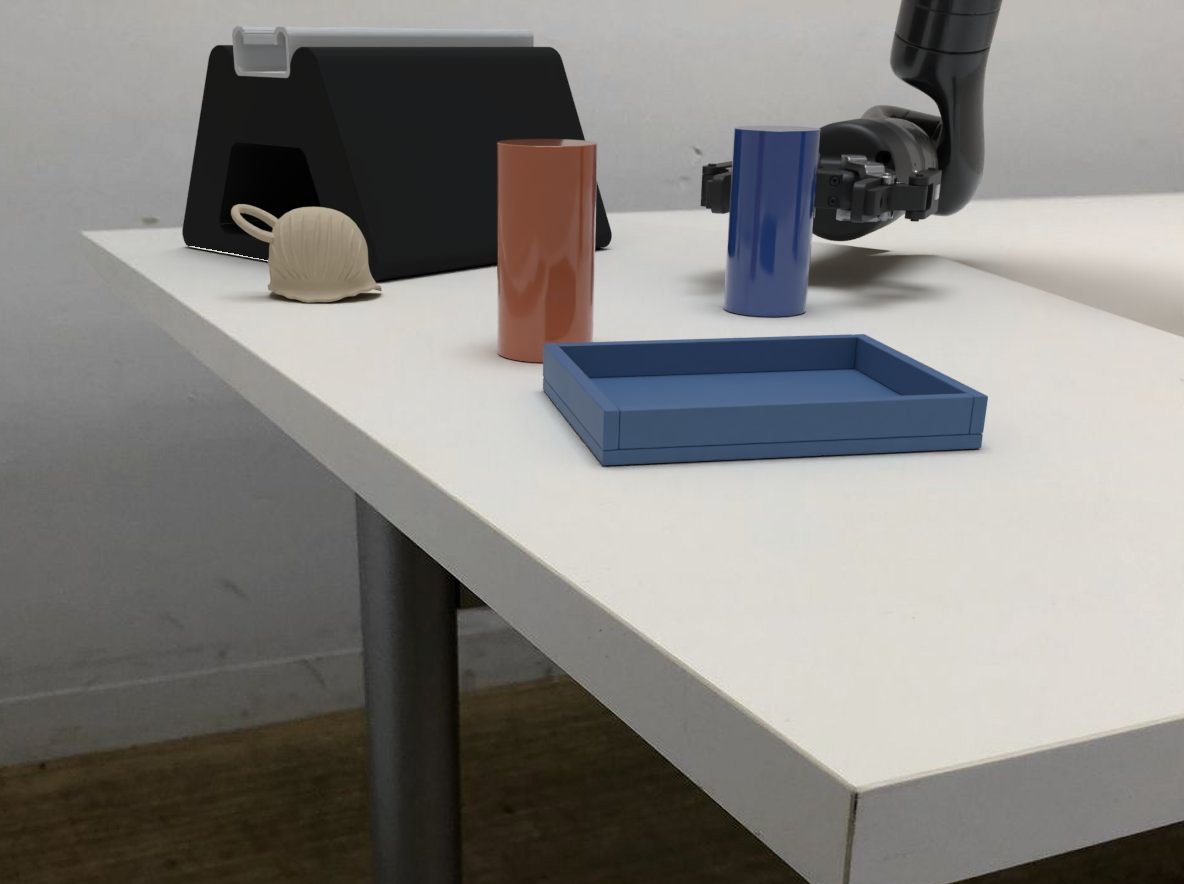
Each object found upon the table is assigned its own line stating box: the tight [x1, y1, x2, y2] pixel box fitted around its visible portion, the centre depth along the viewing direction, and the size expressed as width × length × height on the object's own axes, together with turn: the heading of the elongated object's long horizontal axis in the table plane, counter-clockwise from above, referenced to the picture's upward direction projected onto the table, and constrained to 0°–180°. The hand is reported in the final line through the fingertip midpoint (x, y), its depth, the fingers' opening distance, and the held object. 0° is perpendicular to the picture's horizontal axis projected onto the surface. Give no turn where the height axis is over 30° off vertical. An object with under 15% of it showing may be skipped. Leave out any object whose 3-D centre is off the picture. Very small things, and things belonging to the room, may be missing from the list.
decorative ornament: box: [231, 204, 382, 303], centre depth 83 cm, size 4×8×5 cm, turn 84°
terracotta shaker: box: [496, 139, 598, 364], centre depth 68 cm, size 5×5×10 cm
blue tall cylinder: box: [723, 125, 821, 318], centre depth 80 cm, size 5×5×10 cm
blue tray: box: [542, 333, 989, 466], centre depth 58 cm, size 15×12×2 cm
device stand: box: [181, 26, 613, 282], centre depth 101 cm, size 22×22×15 cm
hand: (785, 199), depth 81 cm, fingers open, 8 cm apart
